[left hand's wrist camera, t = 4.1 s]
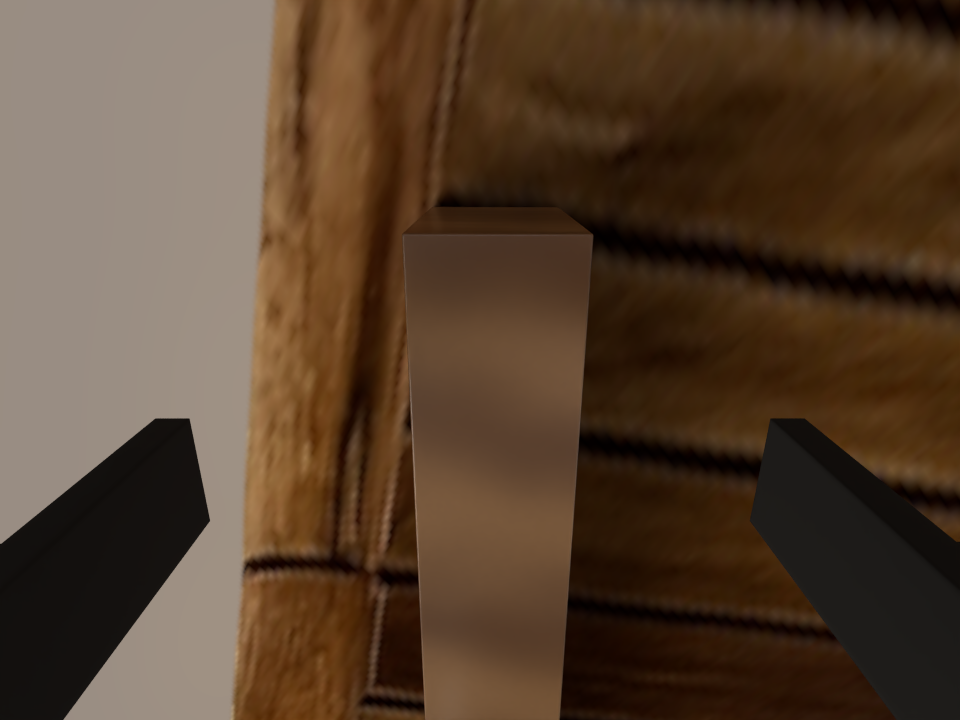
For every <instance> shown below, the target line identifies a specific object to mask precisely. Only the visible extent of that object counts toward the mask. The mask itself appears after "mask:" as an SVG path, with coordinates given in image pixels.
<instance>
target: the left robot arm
mask: <svg viewBox="0 0 960 720" xmlns="http://www.w3.org/2000/svg"><path fill="white" fill-rule="evenodd" d="M209 522H210V518H209V513H208V508H207V503H206V498H205V493H204V488H203V483H202V478H201V473H200V469H199V464H198V459H197V454H196V449H195V444H194V439H193V434H192V429H191V424H190V419H154V420H153V421H152V422H151V423H149V424H148V425H147V426H146V427H145V428H143V429H142V430H141V431H140V432H138V433H137V434H136V435H135V436H134V437H132V438H131V439H130V440H129V441H127V442H126V443H125V444H124V445H122V446H121V447H120V448H119V449H117V450H116V451H115V452H114V453H113V454H111V455H110V456H109V457H108V458H106V459H105V460H104V461H103V462H101V463H100V464H99V465H98V466H97V467H95V468H94V469H93V470H92V471H90V472H89V473H88V474H87V475H85V476H84V477H83V478H82V479H81V480H79V481H78V482H77V483H76V484H74V485H73V486H72V487H71V488H70V489H68V490H67V491H66V492H65V493H63V494H62V495H61V496H60V497H58V498H57V499H56V500H55V501H53V502H52V503H51V504H50V505H49V506H47V507H46V508H45V509H44V510H42V511H41V512H40V513H39V514H37V515H36V516H35V517H34V518H33V519H31V520H30V521H29V522H28V523H26V524H25V525H24V526H23V527H21V528H20V529H19V530H18V531H17V532H15V533H14V534H13V535H12V536H10V537H9V538H8V539H7V540H6V541H4V542H3V543H2V544H0V720H63V719H64V718H65V717H66V715H67V714H68V713H69V711H70V710H71V709H72V707H73V706H74V704H75V703H76V702H77V700H78V699H79V698H80V696H81V695H82V694H83V692H84V691H85V690H86V688H87V687H88V685H89V684H90V683H91V681H92V680H93V679H94V677H95V676H96V675H97V673H98V672H99V671H100V669H101V668H102V667H103V665H104V664H105V662H106V661H107V660H108V658H109V657H110V656H111V654H112V653H113V652H114V650H115V649H116V648H117V646H118V645H119V643H120V642H121V641H122V639H123V638H124V637H125V635H126V634H127V633H128V631H129V630H130V629H131V627H132V626H133V624H134V623H135V622H136V620H137V619H138V618H139V616H140V615H141V614H142V612H143V611H144V610H145V608H146V607H147V606H148V604H149V603H150V601H151V600H152V599H153V597H154V596H155V595H156V593H157V592H158V591H159V589H160V588H161V587H162V585H163V584H164V583H165V581H166V580H167V578H168V577H169V576H170V574H171V573H172V572H173V570H174V569H175V568H176V566H177V565H178V564H179V562H180V561H181V559H182V558H183V557H184V555H185V554H186V553H187V551H188V550H189V549H190V547H191V546H192V544H193V543H194V542H195V540H196V539H197V538H198V536H199V535H200V534H201V532H202V531H203V530H204V528H205V527H206V526H207V524H208V523H209ZM750 522H751V523H752V524H753V526H754V527H755V528H756V530H757V531H758V532H759V534H760V535H761V536H762V538H763V539H764V540H765V542H766V543H767V545H768V546H769V547H770V549H771V550H772V551H773V553H774V554H775V555H776V557H777V558H778V559H779V561H780V562H781V564H782V565H783V566H784V568H785V569H786V570H787V572H788V573H789V574H790V576H791V577H792V578H793V580H794V581H795V583H796V584H797V585H798V587H799V588H800V589H801V591H802V592H803V593H804V595H805V596H806V597H807V599H808V600H809V601H810V603H811V604H812V606H813V607H814V608H815V610H816V611H817V612H818V614H819V615H820V616H821V618H822V619H823V620H824V622H825V623H826V625H827V626H828V627H829V629H830V630H831V631H832V633H833V634H834V635H835V637H836V638H837V639H838V641H839V642H840V644H841V645H842V646H843V648H844V649H845V650H846V652H847V653H848V654H849V656H850V657H851V658H852V660H853V661H854V662H855V664H856V665H857V667H858V668H859V669H860V671H861V672H862V673H863V675H864V676H865V677H866V679H867V680H868V681H869V683H870V684H871V686H872V687H873V688H874V690H875V691H876V692H877V694H878V695H879V696H880V698H881V699H882V700H883V702H884V703H885V704H886V706H887V707H888V709H889V710H890V711H891V713H892V714H893V715H894V717H895V718H896V719H897V720H960V542H956V541H955V540H953V539H952V538H951V537H950V536H948V535H947V534H946V533H945V532H943V531H942V530H941V529H940V528H939V527H937V526H936V525H935V524H934V523H932V522H931V521H930V520H929V519H927V518H926V517H925V516H924V515H923V514H921V513H920V512H919V511H918V510H916V509H915V508H914V507H913V506H911V505H910V504H909V503H908V502H907V501H905V500H904V499H903V498H902V497H900V496H899V495H898V494H897V493H895V492H894V491H893V490H892V489H891V488H889V487H888V486H887V485H886V484H884V483H883V482H882V481H881V480H879V479H878V478H877V477H876V476H875V475H873V474H872V473H871V472H870V471H868V470H867V469H866V468H865V467H863V466H862V465H861V464H860V463H859V462H857V461H856V460H855V459H854V458H852V457H851V456H850V455H849V454H847V453H846V452H845V451H844V450H843V449H841V448H840V447H839V446H838V445H836V444H835V443H834V442H833V441H831V440H830V439H829V438H828V437H827V436H825V435H824V434H823V433H822V432H820V431H819V430H818V429H817V428H815V427H814V426H813V425H812V424H811V423H809V422H808V421H807V420H806V419H770V424H769V429H768V434H767V439H766V444H765V449H764V454H763V459H762V463H761V468H760V473H759V478H758V483H757V488H756V493H755V498H754V503H753V508H752V513H751V518H750Z"/></svg>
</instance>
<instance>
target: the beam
mask: <svg viewBox="0 0 960 720" xmlns="http://www.w3.org/2000/svg"><path fill="white" fill-rule="evenodd" d="M402 245H403V266H404V287H405V308H406V328H407V349H408V370H409V391H410V412H411V433H412V453H413V474H414V495H415V516H416V537H417V558H418V578H419V599H420V620H421V641H422V662H423V683H424V703H425V720H560V706H561V692H562V678H563V663H564V649H565V635H566V620H567V606H568V592H569V577H570V563H571V549H572V535H573V520H574V506H575V492H576V477H577V463H578V449H579V434H580V420H581V406H582V391H583V377H584V363H585V349H586V334H587V320H588V306H589V291H590V277H591V263H592V248H593V234H592V233H591V232H589V231H588V230H587V229H585V228H584V227H583V226H582V225H580V224H579V223H578V222H576V221H575V220H574V219H572V218H571V217H570V216H569V215H567V214H566V213H565V212H563V211H562V210H561V209H560V208H558V207H432V208H431V209H430V210H428V211H427V212H426V213H425V214H424V215H423V216H422V217H421V218H420V219H418V220H417V221H416V222H415V223H414V224H413V225H412V226H411V227H410V228H408V229H407V230H406V231H405V232H404V233H403V234H402Z"/></svg>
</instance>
